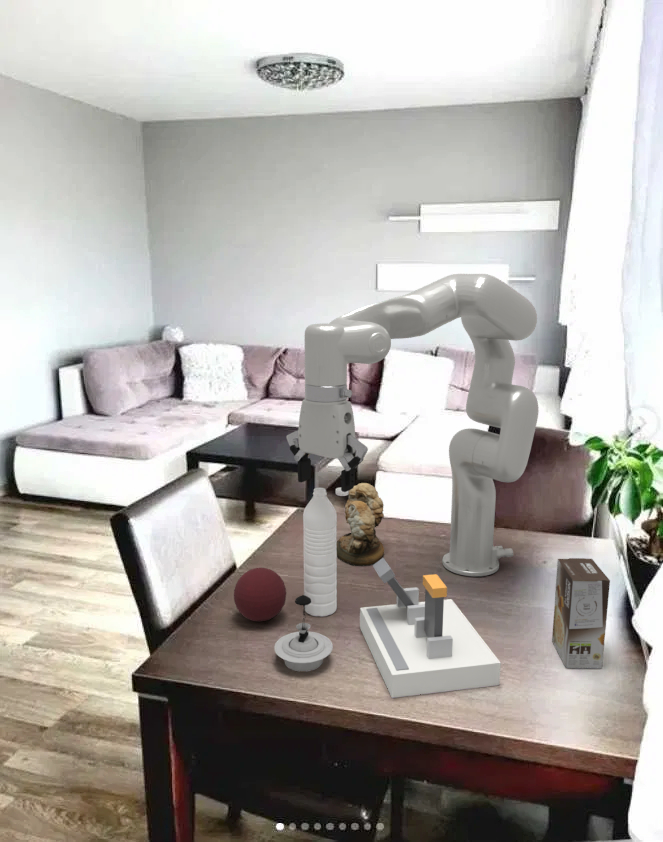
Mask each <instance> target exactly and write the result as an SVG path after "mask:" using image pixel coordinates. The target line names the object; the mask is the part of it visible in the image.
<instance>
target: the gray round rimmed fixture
mask: <svg viewBox="0 0 663 842" xmlns="http://www.w3.org/2000/svg"><path fill="white" fill-rule="evenodd" d="M294 603H295V604H296V605H298V606H303V607H302V608H303V609H302V613H303V614H302V615H303V616H306V612H305V608H304V605H308V604H310V603H311V599H310V598H309V597H307V596H305V595H304V594H302V595H299V596H297V597H296V598H295V600H294ZM305 620H306V618H305V617H303V619H302V621H303V622H300V623H298V624H296V626H295V628H296V629H297V630H298V631H294V632H290V633H288V634H285V635H283V636H281V637H280V638H278V640H277V641H275V643H274V652H275V655H277V656H278V658H281V659H283V661H284V665H285V666H286V667H287V668H288V669H290V670H292V671H296V672H300V671H306V672H311V670H312V671H314V670H317V669H318V668H320V667H321V665H322V664H323V662H324V659H325V658H327V657H328V656H329V655H330V654H331V653H332V651H333V649H334V648H333V647H334V646H333V645H334V644H333V643H332V640H331V639H330V638H328V636H325V635H324V634H321V633H319V632H315V631H309V630H310V628H311V627H312V626H311V623H308V622H305Z"/></svg>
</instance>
